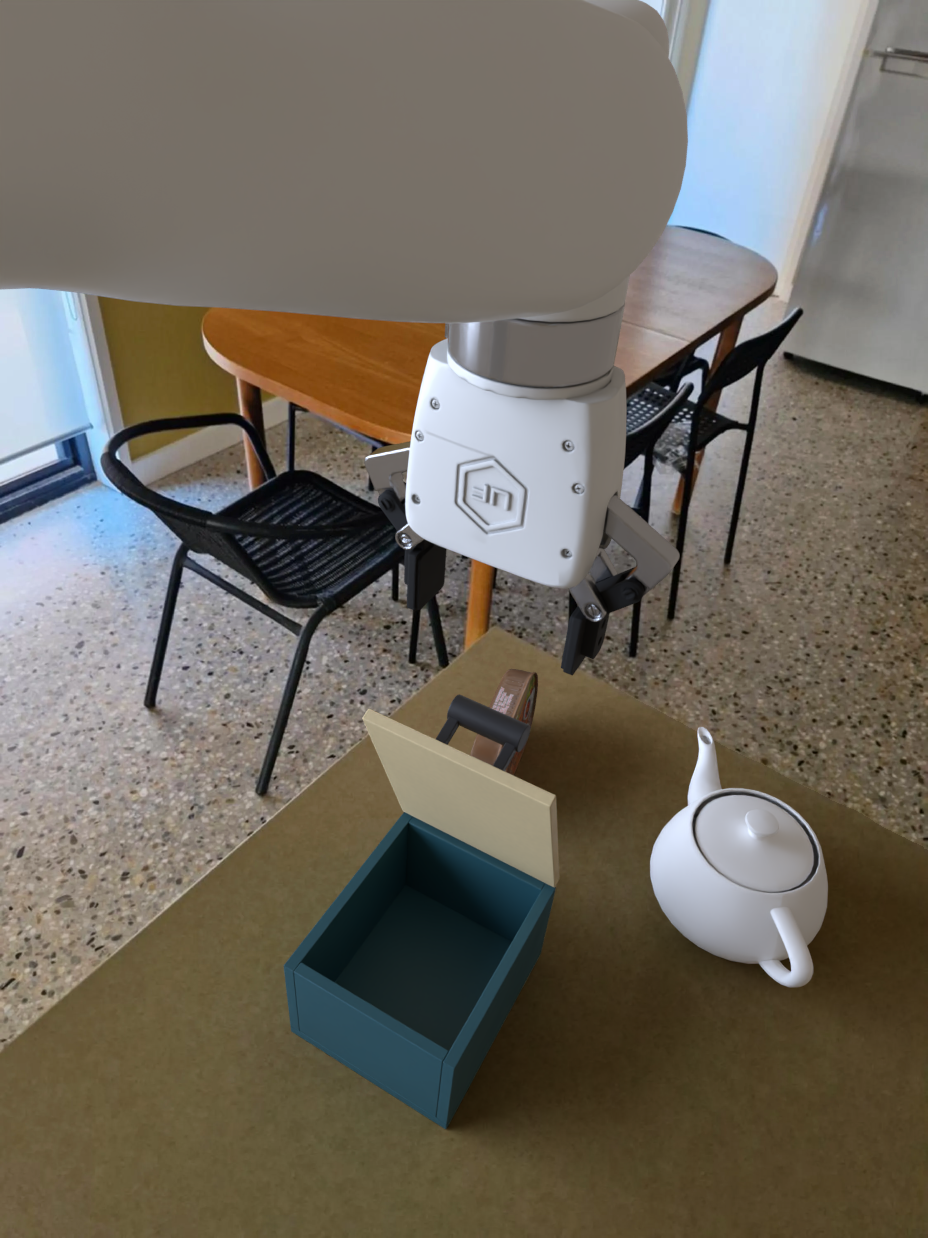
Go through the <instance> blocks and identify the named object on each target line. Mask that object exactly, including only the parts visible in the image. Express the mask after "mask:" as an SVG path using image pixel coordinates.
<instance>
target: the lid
mask: <svg viewBox="0 0 928 1238" xmlns="http://www.w3.org/2000/svg"><path fill="white" fill-rule="evenodd" d="M446 719H447V720H446V721H445V722H444V724H443V726H442V727H441V729H440V731H439V733H438V734H437V735H436V737H435V738H434V737H432V736H430V735H427V734H426V733H423V732H422V731H419V730H417V729H415V728H413V727H410V726H408V725H406V724H403V723H401V722H400V721H397V720H395V719H394V718H391V717H389V716H386V715H385V714H382V713H380V712H378V711H376V710H375V709H371V708H368V709H367V710H366V711H365V713H364V714H363V716H362V721H363V724H364V726H365V728H366V731H367V733H368V735H369V738H370V740H371V742H372V745H373V747H374V749H375V751H376V753H377V755H378V758H379V760H380V763H381V765H382V767H383V769H384V772H385V774H386V777H387V779H388V781H389V783H390V785H391V788H392V790H393V793H394V794H395V797H396V799H397V801H398V804H399V806H400V808H401V811H402V813H404V812H405V813H407V814H409V815H411V816H413V817H415V818H417V819H419V820H421V821H423V822H425V823H427V824H429V825H431V826H433V827H435V828H437V829H439V830H441V831H443V832H445V833H447V834H449V835H451V836H453V837H455V838H457V839H459V840H461V841H463V842H465V843H467V844H469V845H471V846H473V847H475V848H477V849H479V850H481V851H483V852H485V853H487V854H489V855H491V856H493V857H494V858H496V859H498V860H500V861H502V862H504V863H506V864H508V865H510V866H512V867H514V868H516V869H518V870H520V871H522V872H524V873H526V874H528V875H530V876H532V877H534V878H536V879H538V880H540V881H542V882H544V883H546V884H548V885H550V886H552V887H554V888H555V887H556V888H557V884H558V882H559V881H560V861H559V859H560V858H559V856H560V855H559V834H558V809H557V795H556V794H554V793H552V792H550V791H547V790H545V789H543V788H542V787H539V786H537V785H534V784H532V783H531V782H529V781H526V780H524V779H523V778H522V779H521V778H520V777H518V776H516V775H514V776H513V775H511V774H509V773H507V772H505V770H506V769H507V767H508V765H509V763H510V761H511V760H512V758H513V756H514V754H515V752H520V751H521V750H522V749H523V747H524V746H525V744H526V745H527V743H528V740H527V739H529V737H530V734H531V730H530V728H531V729H532V726H531V727H530V725H528V724H526V723H524V722H521V721H519V720H517V719H515V718H512V717H510V716H508V715H505V714H503V713H501V712H499V711H496V710H494V709H492V708H490V707H489V706H487V705H485V704H483V703H480V702H479V701H476V700H474V699H471V698H469V697H467V696H466V695H465V696H464V695H462V694H460V693H459V694H457V695H455V697H453V699H452V701H451V702H450V705H449V707H448V709H447V714H446ZM459 727H461V728H464V729H466V730H468V731H470V732H473V733H474V734H476V735H477V734H479V735H481V736H483V737H486V738H488V739H490V740H492V741H494V742H497V743H499V744H501V745H503V748H502V750H501V752H500V754H499V755H498V757H497V759H496V761H495V762H494V764H493V766H492V765H490V764H488V763H485V762H483V761H481V760H479V759H477V758H475V757H473V756H470V754H468V753H466V752H464V751H462V750H460V749H457V748H455V747H454V746H451V745H449V744H450V742H451V740H452V738H453V737H454V735H455V733H456V732H457V730H458V728H459ZM526 742H527V743H526ZM525 747H526V746H525Z"/></svg>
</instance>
